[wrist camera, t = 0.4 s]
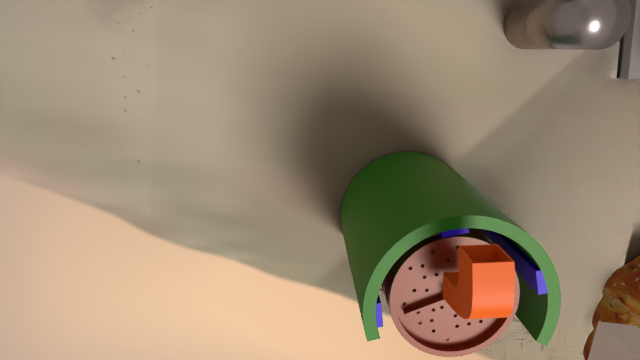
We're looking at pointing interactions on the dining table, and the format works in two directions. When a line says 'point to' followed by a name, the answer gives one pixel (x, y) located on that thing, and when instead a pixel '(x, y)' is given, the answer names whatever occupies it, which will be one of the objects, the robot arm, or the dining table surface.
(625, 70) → the stand
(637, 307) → the pastry
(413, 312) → the motor
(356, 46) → the dining table surface
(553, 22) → the rounded metal cylinder
